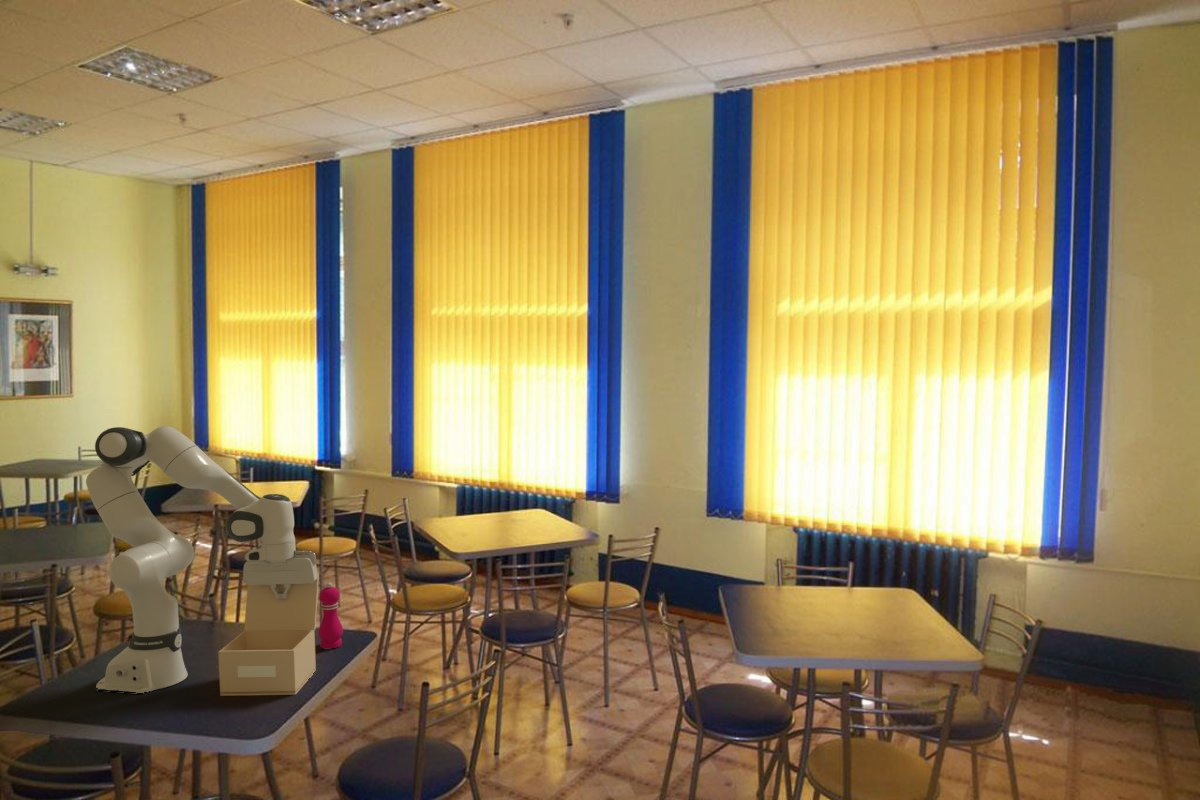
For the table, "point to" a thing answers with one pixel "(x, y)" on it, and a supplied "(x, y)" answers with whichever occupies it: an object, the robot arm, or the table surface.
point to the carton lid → (281, 608)
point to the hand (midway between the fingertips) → (281, 599)
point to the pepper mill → (330, 618)
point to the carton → (267, 662)
